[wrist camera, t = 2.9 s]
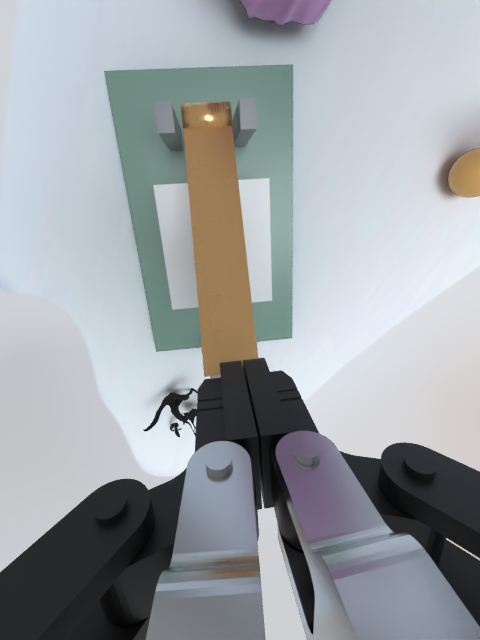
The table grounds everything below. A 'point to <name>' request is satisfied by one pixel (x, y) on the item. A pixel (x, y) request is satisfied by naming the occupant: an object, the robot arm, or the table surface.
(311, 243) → the table surface
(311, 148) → the table surface
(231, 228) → the strap
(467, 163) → the figurine
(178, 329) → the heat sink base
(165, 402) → the creature
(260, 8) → the toy character
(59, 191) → the table surface
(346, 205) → the table surface
